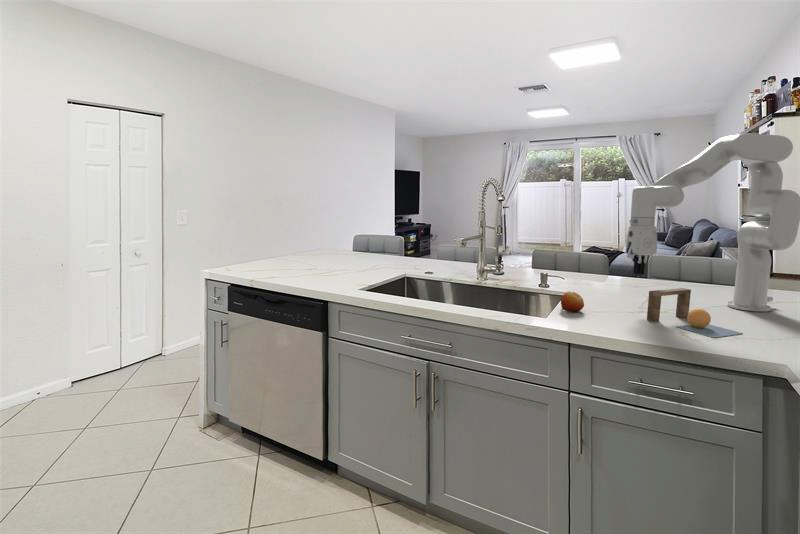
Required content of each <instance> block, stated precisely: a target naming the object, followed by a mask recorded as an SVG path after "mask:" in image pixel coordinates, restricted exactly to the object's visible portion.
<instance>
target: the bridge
mask: <svg viewBox="0 0 800 534" xmlns="http://www.w3.org/2000/svg"><path fill="white" fill-rule="evenodd" d="M691 293H692V290H691V289H690V288H686V287H684V288H683V287H679V288H670V289H669V288H666V289H659V290H658V289H657V290H649V291H648V299H647V300H648V301H647V313H646V320H647V321H649V322H652V323H658V322H660V316H661V315H660V314H661V303H662V297H665V296H666V297H667V296H676V295H677V298H676V299H677V301H676V310H675V317H677V316H678V317H677V318H680V317H681V319H687V317H688V314H689V312H690V303H691Z"/></svg>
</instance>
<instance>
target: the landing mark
mask: <svg viewBox="0 0 800 534" xmlns="http://www.w3.org/2000/svg"><path fill="white" fill-rule="evenodd" d="M675 327H676V328H678V327H679V328H678V329H681V328H683V329H682V330H685V329H686V330H685V331H688V330H690V331H689V332H691V331H693V332H692V333H695V332H696V334H698V333H700V334H699V335H702V334H703V336H705V335H706V337H709V336H710V337H709V338H712V337H713V339H717V337H719V338H725V336H726V337H731V336H738V335H743V334H744V332H739V331H737V330H732V329H729V328H725V327H721V326H717V325H713V324H710V323H709V325H708V326H706V327H704V328H696V327H693V326H692V325H690V324H684V325H677V326H675Z"/></svg>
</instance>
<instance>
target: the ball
mask: <svg viewBox="0 0 800 534" xmlns="http://www.w3.org/2000/svg"><path fill="white" fill-rule="evenodd" d="M686 319H687V322H688V324H689V325H692V326H693V327H696V328H704V327H706V326H708V325H709V324H710V323H711V321H712V320H711V315H710V313H709V311H706V310H705V309H703V308H693V309H691V310H689V314H688V317H687V318H686Z"/></svg>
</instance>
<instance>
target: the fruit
mask: <svg viewBox="0 0 800 534" xmlns="http://www.w3.org/2000/svg"><path fill="white" fill-rule="evenodd" d="M560 305H561V310H559V311H561V312H562V311H566V312H569V313H572V314H576V313H579V312H580V311H582V310H583V308H584V307H585V301H584V298H583V297H582V295H580V294H578V293H577V292H574V291H566V292H564V294H563V295H562V296H561V297H560Z"/></svg>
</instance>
